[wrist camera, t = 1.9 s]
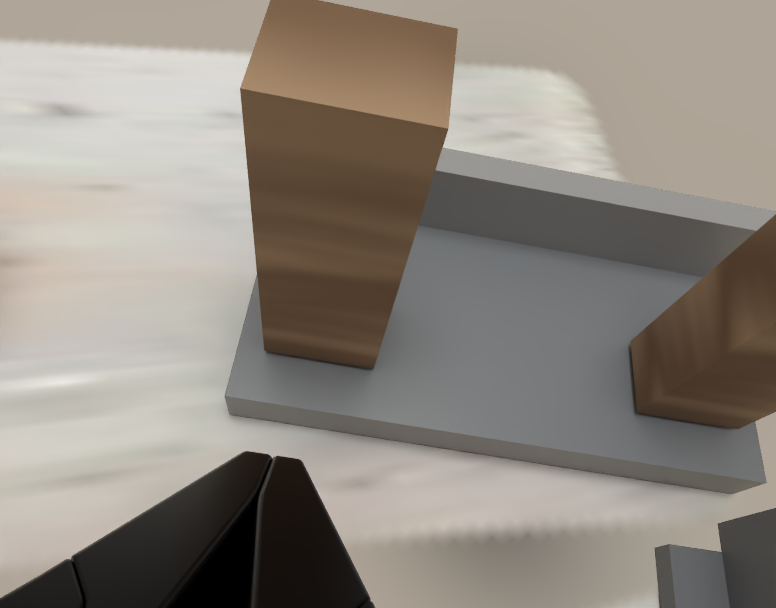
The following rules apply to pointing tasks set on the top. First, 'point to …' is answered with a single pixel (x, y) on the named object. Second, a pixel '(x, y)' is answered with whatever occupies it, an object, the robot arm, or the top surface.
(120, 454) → the top surface
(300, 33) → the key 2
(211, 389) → the top surface
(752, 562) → the card
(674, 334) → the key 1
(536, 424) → the grey stepped base
